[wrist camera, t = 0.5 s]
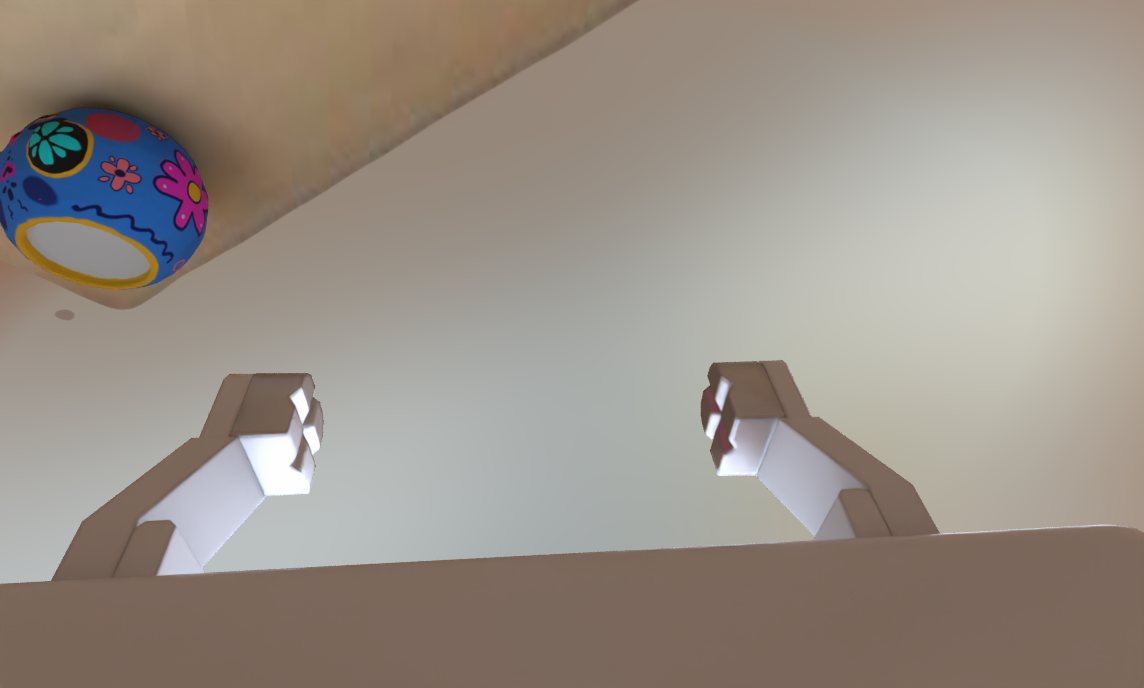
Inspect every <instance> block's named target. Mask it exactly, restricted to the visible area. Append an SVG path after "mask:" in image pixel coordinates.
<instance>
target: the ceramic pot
mask: <svg viewBox="0 0 1144 688" xmlns="http://www.w3.org/2000/svg"><path fill="white" fill-rule="evenodd" d="M207 214H208V196H207V193H206V190H205V187H204V185H203V182H202V180H201V177H200V174H199V172H198V169H197V167H196V165H195V163H194V161H193V160H192V159H191V157H190V156H189V155H188V154H187V152H186V151H185V150H184V149H183V148H182V147H181V146H180V145H179V144H178V143H176V142H175V141H174V140H173V139H172V138H171V137H169V136H168V135H167V134H166V133H164V132H163V131H161V130H159V129H157V128H155V127H153V126H152V125H150V124H148V123H146V122H144V121H142V120H140V119H138V118H135V117H132V116H130V115H127V114H124V113H121V112H116V111H112V110H105V109H97V108H75V109H69V110H65V111H61V112H57V113H54V114H51V115H46V116H42V117H40V118H38V119H36V120H35V121H33V122H32V123H30V124H29V125H27V126H26V127H25V128H24V129H23V130H22V131H20V132H18V133H16V134H15V135H13V136H12V137H11V140H10V142H9V143H8V145H7V146H6V148H5V149H4V150H3V151H2V152H0V223H1V225H2V227H3V229H4V231H5V233H6V235H7V237H8V239H9V240H10V241H11V242H12V243H13V244H14V245H15V246H16V247H17V248H18V249H19V250H20V252H21V253H22V254H23V255H24V256H25V257H26V258H27V259H29V260H30V261H32V262H33V263H35V264H36V265H38V266H39V267H41V268H42V269H44V270H46V271H48V272H50V273H52V274H54V275H57V276H59V277H61V278H64V279H67V280H70V281H73V282H76V283H79V284H82V285H87V286H92V287H97V288H103V289H121V290H124V289H133V288H140V287H145V286H149V285H152V284H155V283H158V282H160V281H162V280H163V279H165V278H167V277H169V276H170V275H172V274H174V273H175V272H176V271H178V270H179V269H181V267H182V266H183V265H184V264H185V263H186V262H187V261H188V260H189V258H190V257H191V256H192V255H193V253H194V252H195V250H196V249H197V248H198V246H199V245H200V243H201V241H202V239H203V237H204V234H205V230H206V223H207Z"/></svg>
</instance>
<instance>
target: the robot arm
mask: <svg viewBox="0 0 1144 688" xmlns="http://www.w3.org/2000/svg"><path fill="white" fill-rule="evenodd" d="M708 379H709V382H710V386H709V387H707V388H706V389H705V390H704V391H703V395H702V400H701V420H702V425H703V429H704V432H705V434H706V435H707V436H708V437H710V438H711V439H712V440H713V442H712V445H711V449H710V452H711V455H712V458H713V461H714V465H715V468H716V471H717V474H718V476H733V475H734V476H735V475H757V478H758V479H759V480H760V481H761V482H762V483H763V484H764V485H765V486H766V487H767V488H768V489H769V490H770V491H771V492H772V493H773V494H774V495H775V496H776V497H777V498H778V499H779V500H780V501H781V502H782V503H783V504H784V505H785V506H786V507H787V508H788V509H789V510H790V511H791V512H792V513H793V514H794V516H796V518H798V520H799V521H800V522H801V523H802V524H803V525H804V526H805V527H806V528H807V529H808V530H809V531H810V532H811V533H812V534H813V535H814V536H815V537H814V539H813V540H812V541H794V542H774V543H755V544H736V545H717V546H698V547H681V548H662V549H644V550H625V551H606V552H588V553H570V554H550V555H532V556H513V557H494V558H476V559H456V560H439V561H438V560H437V561H419V562H400V563H382V564H363V565H345V566H325V567H306V568H287V569H269V570H250V571H232V572H213V573H205V571H204V570H203V568H202V567H203V566H204V565H205V564H206V563H207V562H208V561H209V560H210V558H211V557H212V556H213V555H214V554H215V553H216V552H217V551H218V550H219V549H220V547H221V546H222V545H223V544H224V543H225V542H226V541H227V540H228V538H229V537H230V536H231V535H232V534H233V533H234V532H235V531H236V530H237V529H238V527H239V526H240V525H241V524H242V523H243V522H244V521H245V520H246V519H247V517H249V515H250V514H251V513H252V512H253V511H254V510H255V509H256V508H257V507H258V505H259V504H260V503H261V502H262V501H263V500H264V496H275V495H289V494H303V493H309V491H310V487H311V483H312V479H313V475H314V471H315V467H316V465H315V461H314V458H313V453H315V452H316V451H317V450H318V449H319V448H320V446H321V442H322V437H323V422H324V421H323V413H322V408H321V405H320V402H319V401H317V400H316V399H315V398H313V393H314V389H315V385H314V382H313V379H312V376H311V375H310V374H308V373H302V374H301V373H278V374H277V373H276V374H275V373H272V374H271V373H270V374H269V373H268V374H267V373H258V374H229V375H228V376H227V377H226V378H225V379H224V380H223V382H222V385H221V387H220V389H219V392H218V394H217V396H216V399H215V401H214V404H213V406H212V409H211V411H210V413H209V415H208V418H207V420H206V423H205V425H204V427H203V430H202V432H201V435H200V437H199V438H191V439H190V440H188V441H187V442H186V443H184V444H183V445H182V446H181V447H179V448H178V449H177V450H175V451H174V452H173V453H171V454H170V455H169V456H167V457H166V458H165V459H163V460H162V461H161V462H160V463H158V464H157V465H156V466H154V467H153V468H152V469H150V470H149V471H148V472H146V473H145V474H144V475H142V476H141V477H140V478H139V479H137V480H136V481H135V482H133V483H132V484H131V485H129V486H128V487H127V488H126V489H124V490H123V491H122V492H120V493H119V494H118V495H116V496H115V497H114V498H112V499H111V500H110V501H109V502H107V503H106V504H105V505H103V506H102V507H101V508H99V509H98V510H97V511H95V512H94V513H93V514H91V515H90V516H89V517H88V518H86V519H85V520H84V521H82V523H81V525H80V527H79V529H78V531H77V533H76V534H75V536H74V538H73V540H72V542H71V544H70V546H69V548H68V550H67V551H66V553H65V555H64V557H63V559H62V561H61V563H60V565H59V567H58V569H57V570H56V572H55V574H54V576H53V578H52V580H51V581H45V582H27V583H8V584H0V688H1144V533H1143V532H1141V531H1140V530H1138V529H1135V528H1132V527H1129V526H1122V525H1089V526H1088V525H1087V526H1071V527H1053V528H1036V529H1017V530H1001V531H983V532H982V531H981V532H962V533H944V534H940V533H939V531H938V529H937V527H936V526H935V524H934V522H933V520H932V519H931V517H930V515H929V513H928V511H927V509H926V508H925V506H924V504H923V503H922V501H921V499H920V497H919V495H918V493H917V492H916V490H915V488H914V486H913V485H912V484H911V483H909V482H908V481H907V480H905V479H904V478H902V477H901V476H900V475H899V474H897V473H896V472H894V471H893V470H892V469H890V468H888V467H887V466H886V465H885V464H883V463H882V462H881V461H879V460H878V459H876V458H875V457H874V456H872V455H871V454H869V453H868V452H867V451H865V450H864V449H862V448H861V447H860V446H858V445H857V444H856V443H854V442H853V441H851V440H850V439H848V438H847V437H846V436H844V435H843V434H841V433H840V432H839V431H838V430H836V429H835V428H833V427H832V426H830V425H829V424H828V423H826V422H825V421H824V420H822V419H821V418H819V417H812V416H811V414H810V412H809V410H808V407H807V406H806V403H805V401H804V399H803V398H802V395H801V393H800V391H799V389H798V387H797V385H796V383H795V381H794V378H793V376H792V374H791V372H790V370H789V368H788V366H787V364H786V363H785V362H784V361H783V360H779V361H759V362H757V361H752V362H725V363H724V362H723V363H713V364H712V365H711V367H710V369H709V372H708Z"/></svg>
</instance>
